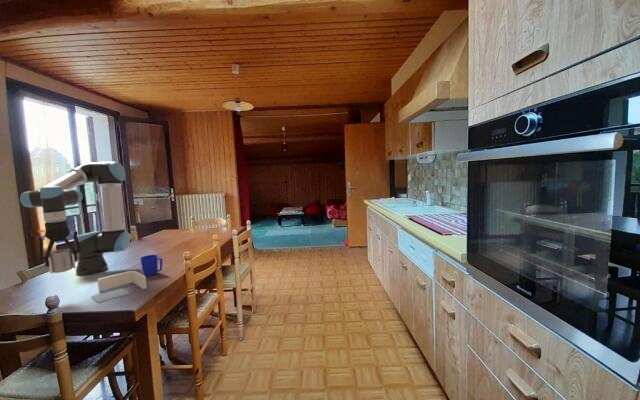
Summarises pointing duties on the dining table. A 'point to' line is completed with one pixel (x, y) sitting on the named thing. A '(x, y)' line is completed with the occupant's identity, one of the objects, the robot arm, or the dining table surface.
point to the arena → (122, 280)
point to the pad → (109, 295)
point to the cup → (61, 260)
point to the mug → (150, 264)
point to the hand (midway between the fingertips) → (63, 270)
